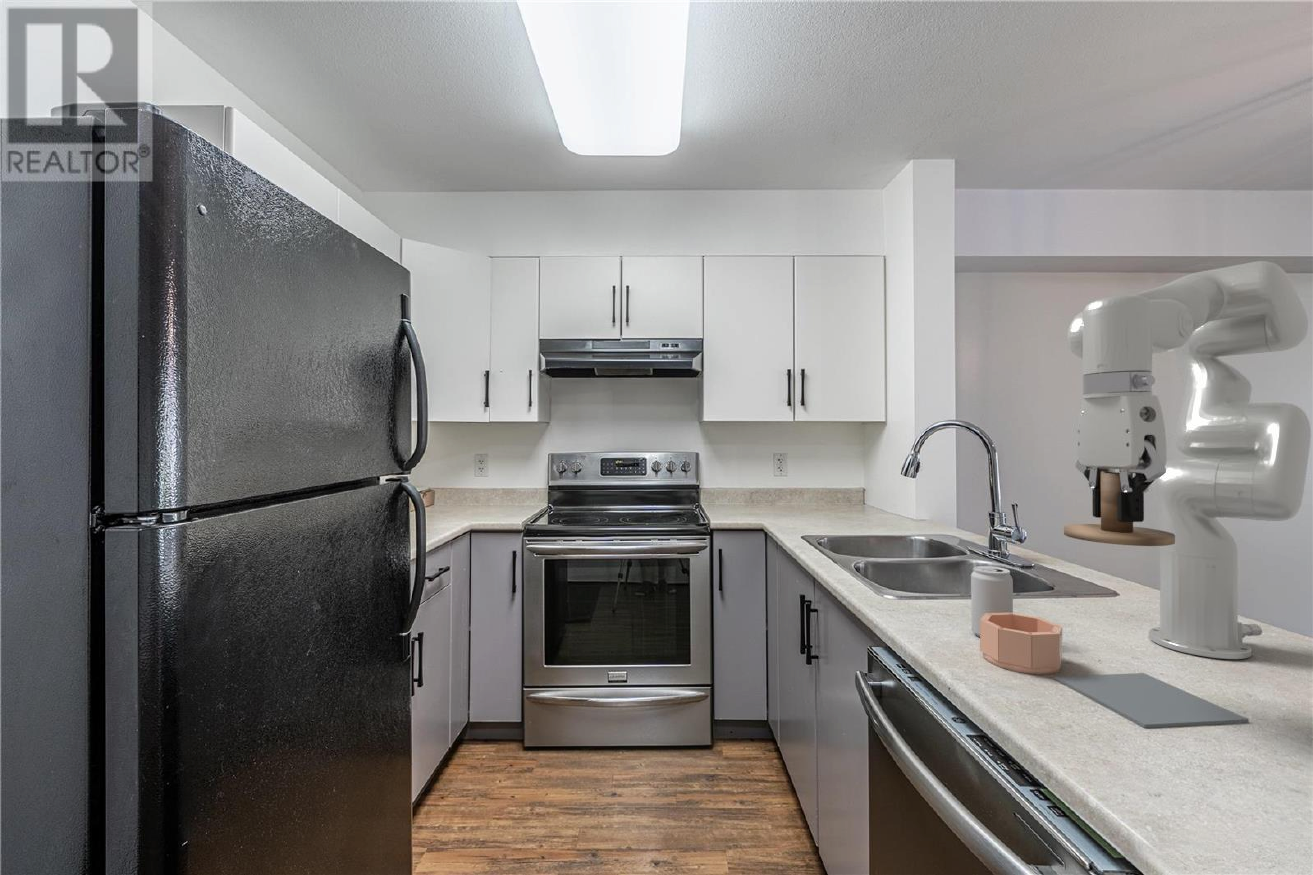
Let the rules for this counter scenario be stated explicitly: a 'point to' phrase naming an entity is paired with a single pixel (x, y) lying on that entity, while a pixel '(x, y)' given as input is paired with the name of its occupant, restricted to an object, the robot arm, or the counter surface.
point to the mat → (1149, 700)
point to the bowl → (1021, 643)
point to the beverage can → (990, 593)
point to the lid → (1116, 522)
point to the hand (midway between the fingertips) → (1117, 518)
